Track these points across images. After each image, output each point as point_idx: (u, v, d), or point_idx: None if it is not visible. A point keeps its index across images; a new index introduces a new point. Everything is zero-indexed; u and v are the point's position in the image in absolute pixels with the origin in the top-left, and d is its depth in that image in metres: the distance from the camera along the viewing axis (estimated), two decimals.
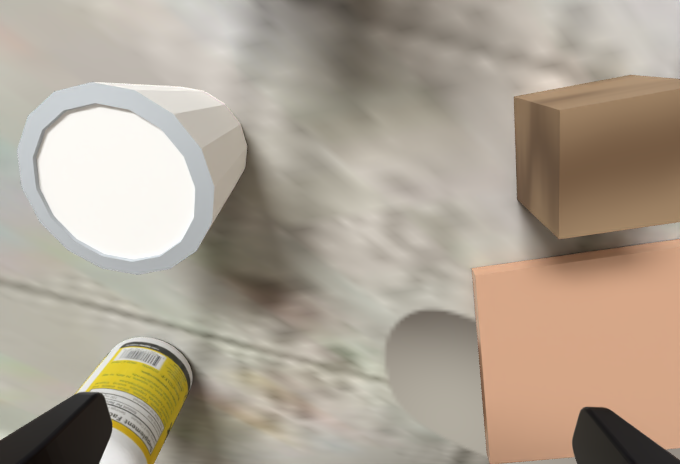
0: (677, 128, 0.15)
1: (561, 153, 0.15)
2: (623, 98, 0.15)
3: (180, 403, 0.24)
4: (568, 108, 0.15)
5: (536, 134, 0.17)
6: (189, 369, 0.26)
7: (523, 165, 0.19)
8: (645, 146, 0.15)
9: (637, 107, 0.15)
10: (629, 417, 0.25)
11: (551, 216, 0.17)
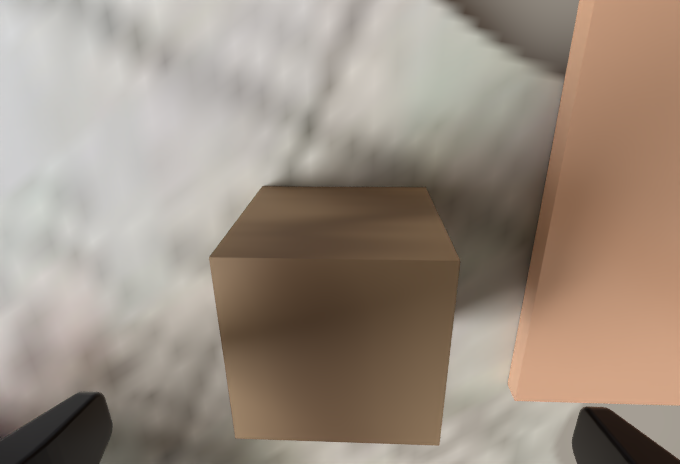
0: (278, 304, 0.09)
1: (296, 439, 0.10)
2: (226, 367, 0.10)
3: None
4: (235, 425, 0.10)
5: None
6: None
7: None
8: (303, 343, 0.09)
9: (240, 355, 0.09)
10: None
11: None
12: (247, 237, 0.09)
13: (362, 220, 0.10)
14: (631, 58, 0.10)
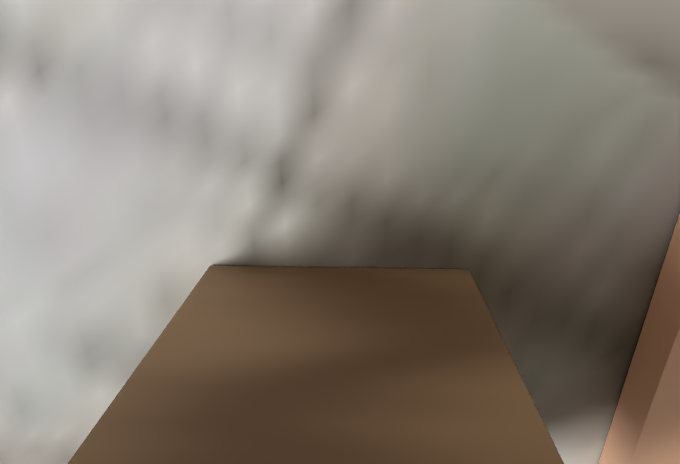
0: None
1: None
2: None
3: None
4: None
5: None
6: None
7: None
8: None
9: None
10: None
11: None
12: (135, 436, 0.05)
13: (370, 370, 0.05)
14: None
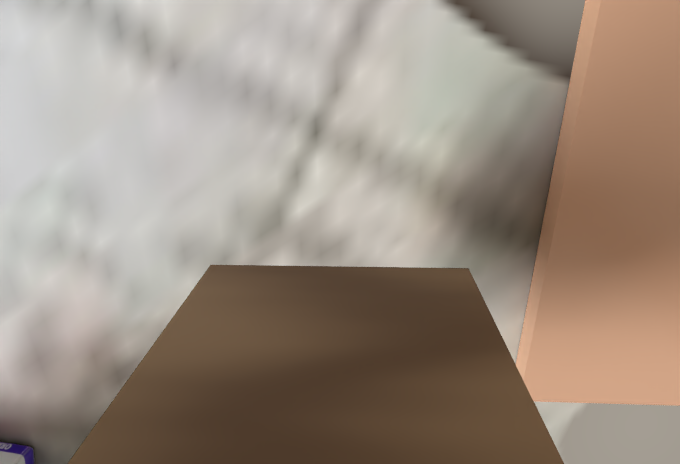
0: None
1: None
2: None
3: None
4: None
5: None
6: None
7: None
8: None
9: None
10: None
11: None
12: (135, 433, 0.05)
13: (370, 369, 0.06)
14: (636, 61, 0.10)
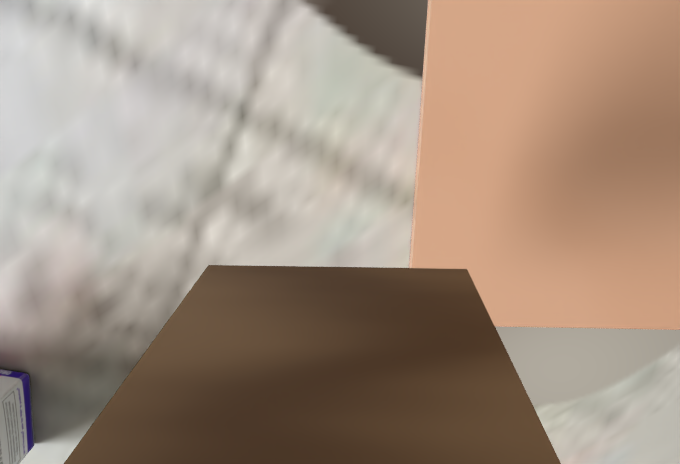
0: None
1: None
2: None
3: None
4: None
5: None
6: None
7: None
8: None
9: None
10: None
11: None
12: (131, 436, 0.05)
13: (367, 370, 0.05)
14: (459, 65, 0.15)
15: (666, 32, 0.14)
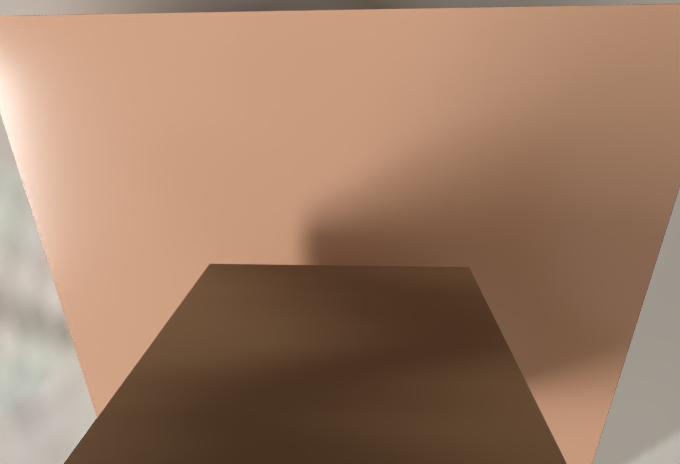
0: None
1: None
2: None
3: None
4: None
5: None
6: None
7: None
8: None
9: None
10: (516, 286, 0.10)
11: None
12: (133, 434, 0.05)
13: (370, 369, 0.05)
14: (69, 167, 0.09)
15: (386, 115, 0.08)
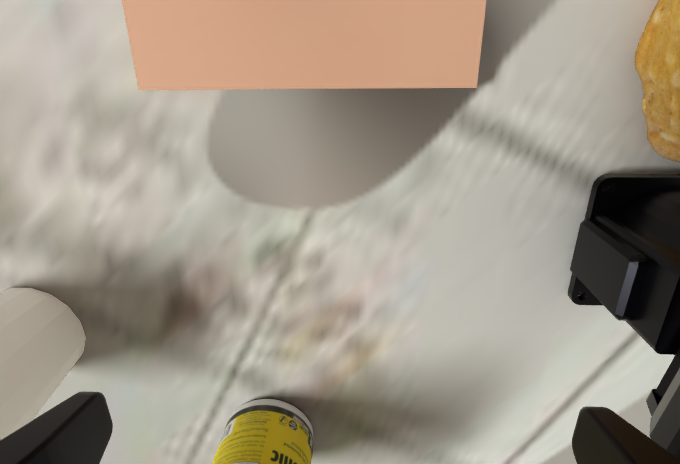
0: None
1: None
2: None
3: (275, 429, 0.23)
4: None
5: None
6: (267, 401, 0.25)
7: None
8: None
9: None
10: None
11: None
12: None
13: None
14: None
15: None
